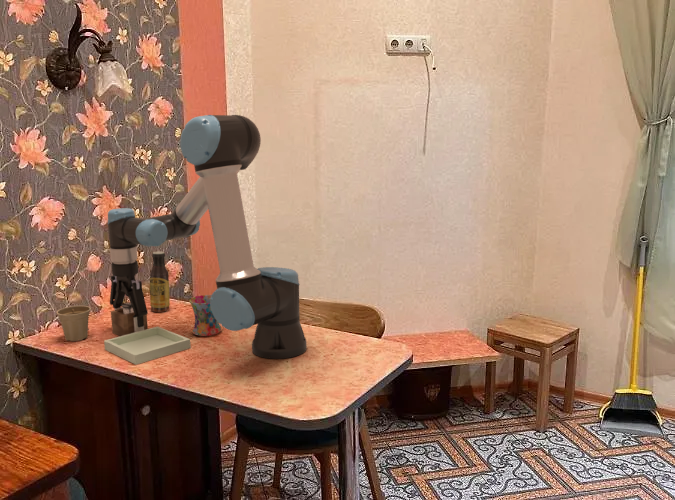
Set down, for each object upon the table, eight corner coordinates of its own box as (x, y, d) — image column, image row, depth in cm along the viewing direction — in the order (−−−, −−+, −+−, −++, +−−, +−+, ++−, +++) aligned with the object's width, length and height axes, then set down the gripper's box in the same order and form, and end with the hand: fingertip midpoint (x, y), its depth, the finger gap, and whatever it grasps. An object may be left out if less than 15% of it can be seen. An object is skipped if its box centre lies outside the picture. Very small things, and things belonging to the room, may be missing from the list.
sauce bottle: (147, 312, 220) (143, 254, 216) (155, 307, 226) (151, 250, 222) (166, 313, 219) (162, 254, 215) (173, 307, 225) (170, 250, 221)
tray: (190, 348, 186) (190, 339, 186) (135, 364, 175) (135, 355, 174) (158, 334, 198) (157, 326, 198) (104, 349, 186) (104, 340, 186)
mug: (206, 340, 193) (204, 305, 190) (184, 334, 198) (182, 300, 196) (235, 329, 202) (234, 295, 200) (213, 324, 207) (212, 291, 205)
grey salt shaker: (138, 333, 200) (136, 304, 198) (127, 336, 197) (125, 306, 195) (132, 330, 202) (130, 301, 200) (121, 333, 200) (119, 304, 198)
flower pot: (53, 338, 196) (50, 310, 194) (84, 330, 203) (81, 303, 201) (68, 345, 190) (65, 316, 188) (99, 337, 196) (96, 309, 194)
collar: (148, 332, 200) (146, 310, 198) (125, 339, 194) (123, 316, 193) (135, 327, 205) (133, 305, 203) (112, 333, 200) (110, 311, 198)
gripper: (156, 264, 190) (161, 338, 194) (116, 253, 206) (122, 321, 210) (133, 269, 185) (138, 344, 189) (93, 257, 200) (100, 327, 205)
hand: (130, 332), depth 200 cm, fingers open, 11 cm apart
